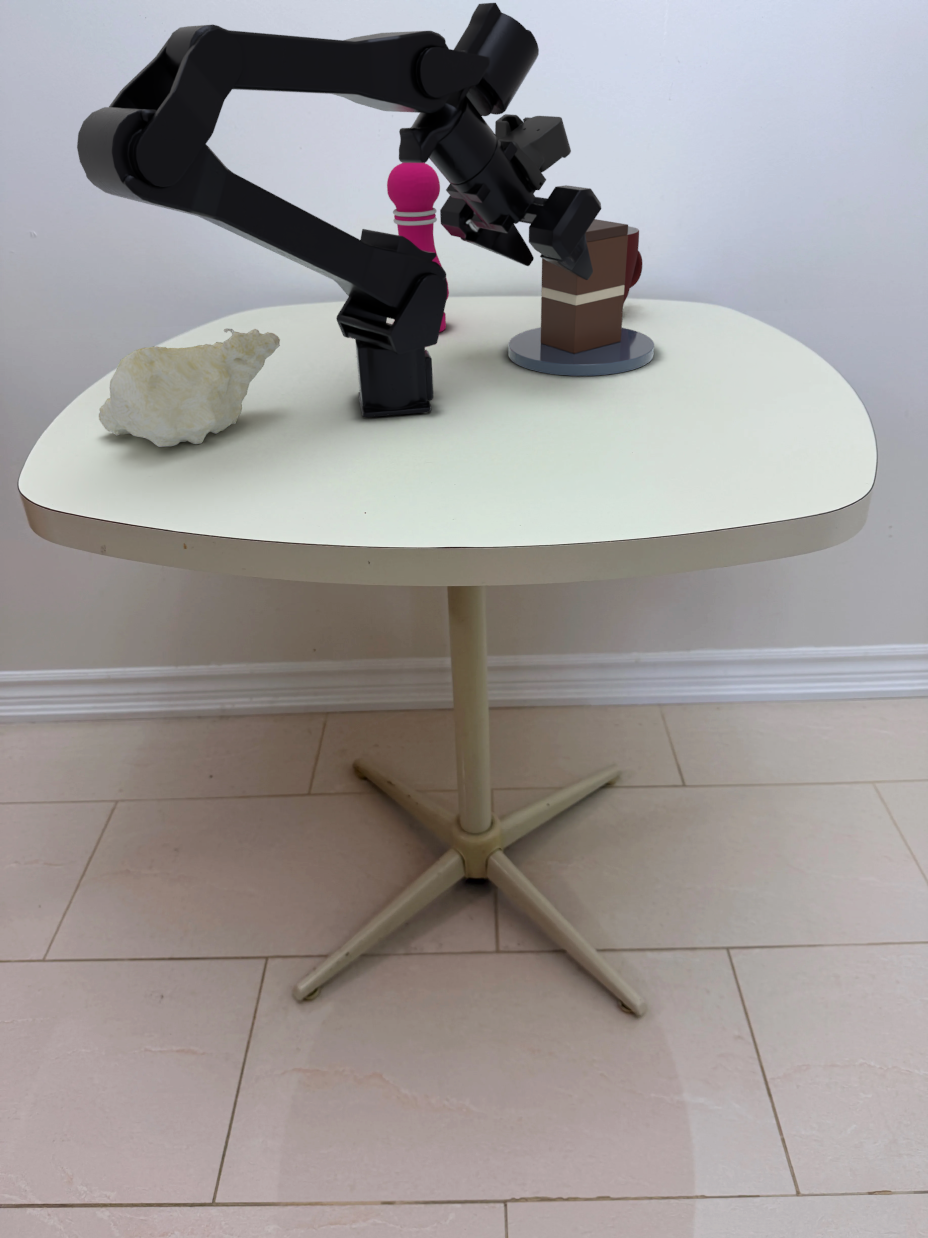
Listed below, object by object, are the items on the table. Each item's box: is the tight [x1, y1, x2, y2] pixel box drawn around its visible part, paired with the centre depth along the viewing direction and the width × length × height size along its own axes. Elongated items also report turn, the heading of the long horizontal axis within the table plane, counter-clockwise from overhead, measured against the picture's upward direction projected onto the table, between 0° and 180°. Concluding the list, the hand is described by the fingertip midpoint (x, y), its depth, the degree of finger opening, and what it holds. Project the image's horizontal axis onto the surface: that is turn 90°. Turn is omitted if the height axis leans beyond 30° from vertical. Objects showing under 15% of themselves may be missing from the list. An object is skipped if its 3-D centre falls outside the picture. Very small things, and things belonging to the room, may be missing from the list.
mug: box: [623, 225, 643, 305], centre depth 111 cm, size 11×8×10 cm
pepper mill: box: [386, 162, 450, 333], centre depth 105 cm, size 7×7×20 cm
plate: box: [507, 326, 655, 377], centre depth 100 cm, size 16×16×1 cm
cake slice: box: [540, 218, 629, 354], centre depth 96 cm, size 7×6×12 cm
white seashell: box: [98, 327, 281, 448], centre depth 80 cm, size 15×7×15 cm
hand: (559, 268), depth 93 cm, fingers open, 9 cm apart
